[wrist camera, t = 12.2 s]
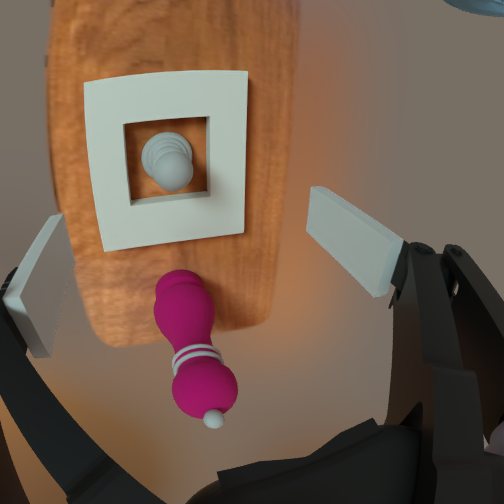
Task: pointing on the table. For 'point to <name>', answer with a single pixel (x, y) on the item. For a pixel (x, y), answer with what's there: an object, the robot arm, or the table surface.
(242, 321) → the table surface
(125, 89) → the socket board
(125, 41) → the table surface
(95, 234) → the table surface
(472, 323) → the robot arm
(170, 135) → the chess piece
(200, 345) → the pepper mill
